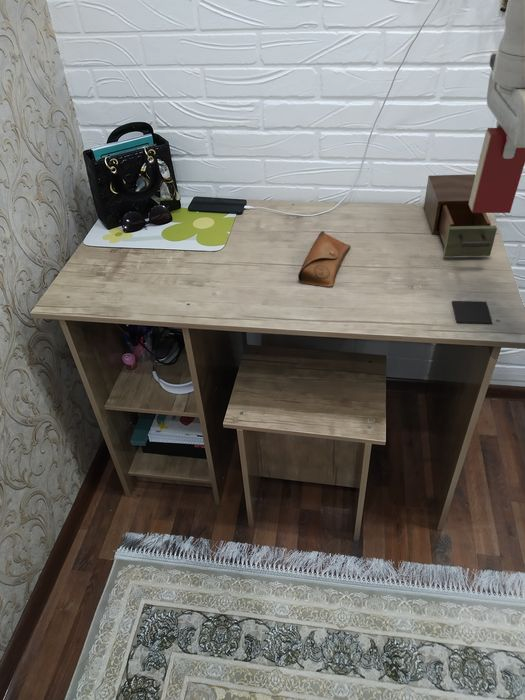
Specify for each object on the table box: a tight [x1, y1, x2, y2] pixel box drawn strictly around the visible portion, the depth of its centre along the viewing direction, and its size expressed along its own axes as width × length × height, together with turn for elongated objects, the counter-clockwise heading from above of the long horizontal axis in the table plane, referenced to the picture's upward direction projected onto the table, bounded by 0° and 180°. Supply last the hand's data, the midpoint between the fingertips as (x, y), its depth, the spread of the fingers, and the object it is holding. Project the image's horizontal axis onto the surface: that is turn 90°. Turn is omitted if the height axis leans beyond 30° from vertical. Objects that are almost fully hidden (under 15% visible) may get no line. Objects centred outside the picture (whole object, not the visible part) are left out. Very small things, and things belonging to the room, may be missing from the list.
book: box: [469, 127, 525, 214], centre depth 104 cm, size 7×3×15 cm, turn 87°
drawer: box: [438, 204, 498, 258], centre depth 133 cm, size 17×10×7 cm, turn 177°
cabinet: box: [423, 173, 476, 236], centre depth 143 cm, size 14×12×9 cm
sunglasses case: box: [297, 230, 351, 288], centre depth 133 cm, size 18×7×7 cm
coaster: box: [451, 300, 493, 325], centre depth 118 cm, size 7×7×1 cm
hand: (503, 151), depth 101 cm, fingers closed on book, 3 cm apart
